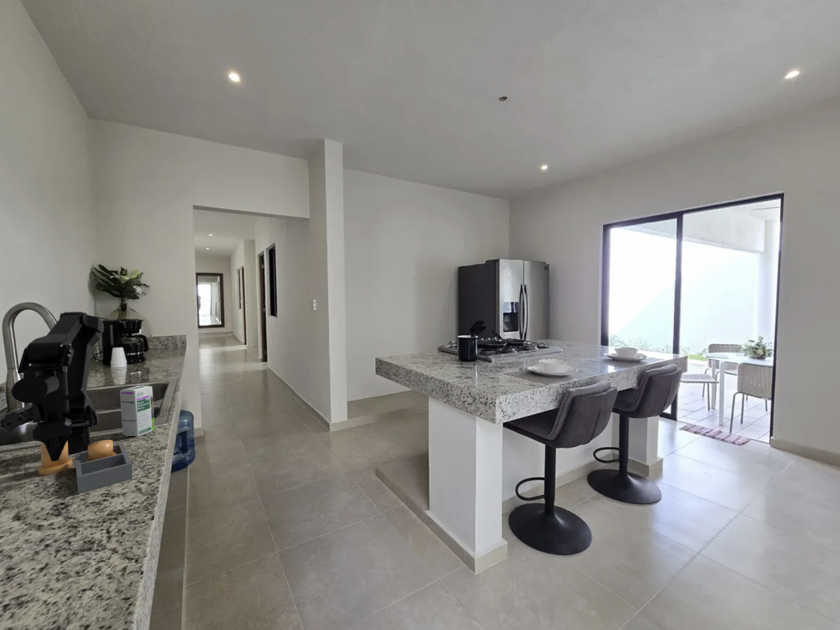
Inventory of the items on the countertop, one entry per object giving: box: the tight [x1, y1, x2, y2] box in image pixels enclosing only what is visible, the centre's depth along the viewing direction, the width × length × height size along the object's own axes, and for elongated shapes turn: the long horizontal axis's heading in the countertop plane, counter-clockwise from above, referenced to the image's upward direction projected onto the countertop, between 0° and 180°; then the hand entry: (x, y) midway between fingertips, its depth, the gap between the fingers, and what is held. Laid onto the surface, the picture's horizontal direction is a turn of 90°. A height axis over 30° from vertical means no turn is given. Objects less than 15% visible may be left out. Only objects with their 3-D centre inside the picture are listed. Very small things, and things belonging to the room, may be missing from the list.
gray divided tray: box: [74, 439, 133, 495], centre depth 85 cm, size 17×9×6 cm, turn 45°
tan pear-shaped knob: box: [37, 441, 73, 477], centre depth 87 cm, size 6×6×7 cm
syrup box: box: [119, 384, 156, 438], centre depth 110 cm, size 6×6×14 cm
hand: (55, 455), depth 87 cm, fingers open, 9 cm apart
